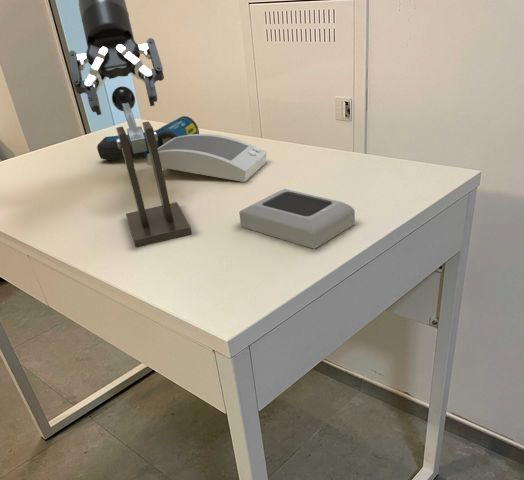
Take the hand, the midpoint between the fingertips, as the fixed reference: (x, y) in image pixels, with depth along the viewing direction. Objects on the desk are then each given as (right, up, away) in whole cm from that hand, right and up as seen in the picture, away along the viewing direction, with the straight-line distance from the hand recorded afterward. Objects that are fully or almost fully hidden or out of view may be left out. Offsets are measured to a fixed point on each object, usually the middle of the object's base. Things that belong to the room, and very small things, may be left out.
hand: (125, 107), depth 87 cm
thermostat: (+11, -2, +24) cm, 26 cm away
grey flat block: (+27, -19, -2) cm, 33 cm away
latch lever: (+1, -3, -1) cm, 4 cm away
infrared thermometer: (-3, +6, +38) cm, 38 cm away
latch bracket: (+4, -18, +4) cm, 19 cm away
